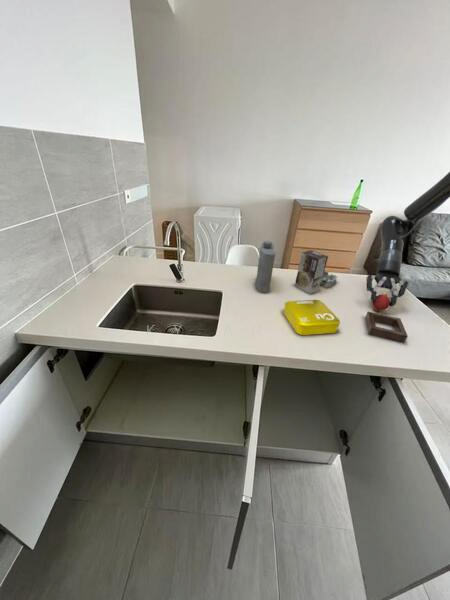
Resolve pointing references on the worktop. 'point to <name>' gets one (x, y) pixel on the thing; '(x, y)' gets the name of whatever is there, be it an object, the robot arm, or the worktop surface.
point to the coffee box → (311, 271)
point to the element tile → (310, 317)
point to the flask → (265, 266)
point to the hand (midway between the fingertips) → (382, 303)
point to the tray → (376, 331)
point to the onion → (381, 302)
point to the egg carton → (328, 279)
